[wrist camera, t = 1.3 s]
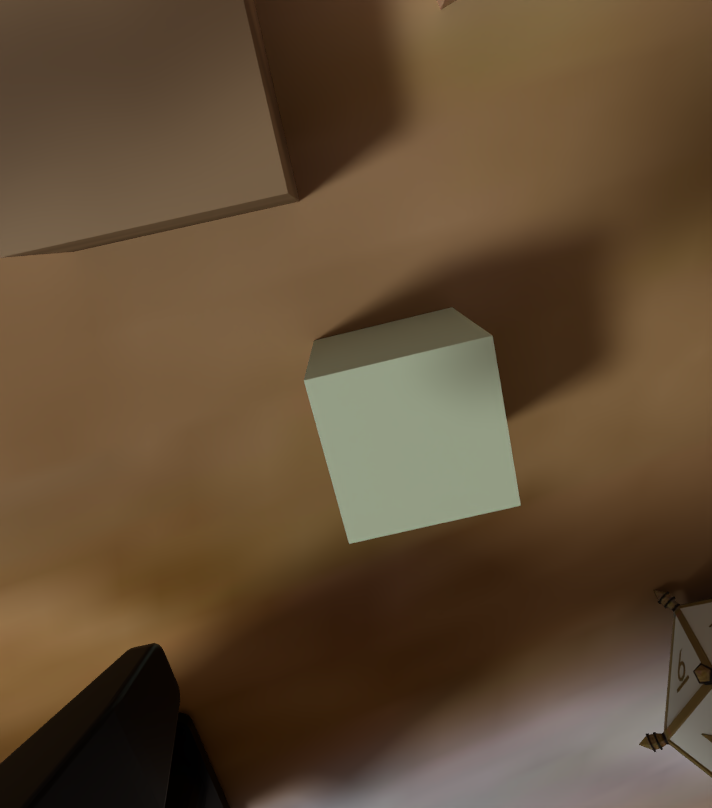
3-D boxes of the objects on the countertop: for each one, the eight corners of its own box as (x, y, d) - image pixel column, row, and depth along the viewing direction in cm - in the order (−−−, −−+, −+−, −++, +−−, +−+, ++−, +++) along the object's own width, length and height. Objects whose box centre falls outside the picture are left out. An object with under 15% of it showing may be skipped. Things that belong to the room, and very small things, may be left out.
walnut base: (300, 201, 17) (287, 193, 13) (76, 251, 17) (0, 257, 13) (237, -76, 15) (201, -184, 11) (-17, -14, 15) (-140, -99, 11)
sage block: (475, 436, 19) (520, 505, 14) (347, 465, 19) (349, 543, 14) (451, 307, 18) (492, 335, 13) (314, 340, 18) (304, 380, 13)
